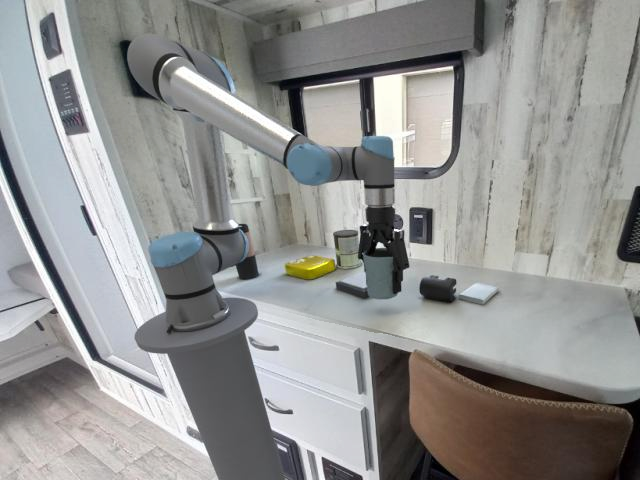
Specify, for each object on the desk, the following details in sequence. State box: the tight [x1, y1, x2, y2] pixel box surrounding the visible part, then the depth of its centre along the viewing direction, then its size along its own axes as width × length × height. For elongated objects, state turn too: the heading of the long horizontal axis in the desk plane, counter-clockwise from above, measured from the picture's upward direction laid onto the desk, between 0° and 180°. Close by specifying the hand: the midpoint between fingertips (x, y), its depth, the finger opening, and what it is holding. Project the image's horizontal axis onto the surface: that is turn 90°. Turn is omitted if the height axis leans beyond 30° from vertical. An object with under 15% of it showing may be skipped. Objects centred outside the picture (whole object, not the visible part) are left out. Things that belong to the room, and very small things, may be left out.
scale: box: [335, 271, 370, 300], centre depth 107 cm, size 14×14×3 cm
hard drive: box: [458, 282, 499, 305], centre depth 98 cm, size 2×8×12 cm
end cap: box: [418, 274, 458, 303], centre depth 96 cm, size 10×7×7 cm
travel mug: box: [235, 223, 260, 281], centre depth 117 cm, size 8×8×20 cm
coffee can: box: [332, 229, 362, 270], centre depth 129 cm, size 10×10×14 cm
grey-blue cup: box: [362, 247, 399, 301], centre depth 85 cm, size 10×10×12 cm
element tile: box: [284, 254, 336, 281], centre depth 124 cm, size 15×15×5 cm
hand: (383, 288), depth 86 cm, fingers closed on grey-blue cup, 9 cm apart
